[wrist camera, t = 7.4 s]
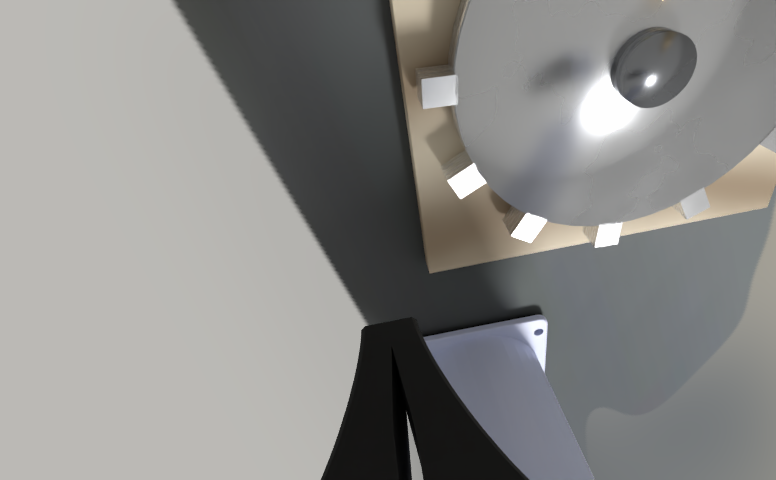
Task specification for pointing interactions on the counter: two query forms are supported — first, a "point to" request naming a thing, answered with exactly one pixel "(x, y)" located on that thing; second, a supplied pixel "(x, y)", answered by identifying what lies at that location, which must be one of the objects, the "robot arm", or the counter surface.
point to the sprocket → (604, 105)
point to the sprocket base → (483, 206)
